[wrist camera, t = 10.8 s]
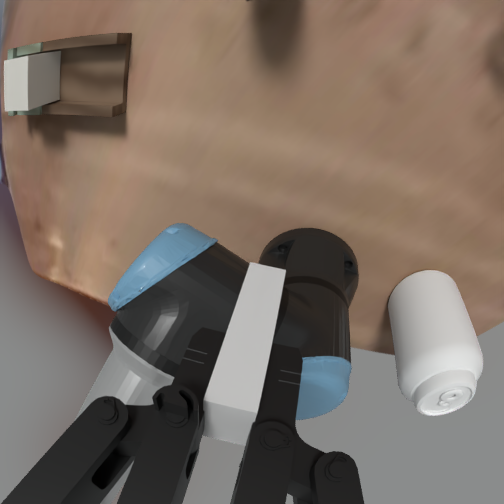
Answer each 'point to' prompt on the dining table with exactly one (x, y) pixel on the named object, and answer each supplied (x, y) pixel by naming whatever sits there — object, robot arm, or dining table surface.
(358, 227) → the dining table surface
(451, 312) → the can
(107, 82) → the walnut chute
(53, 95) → the cream block
